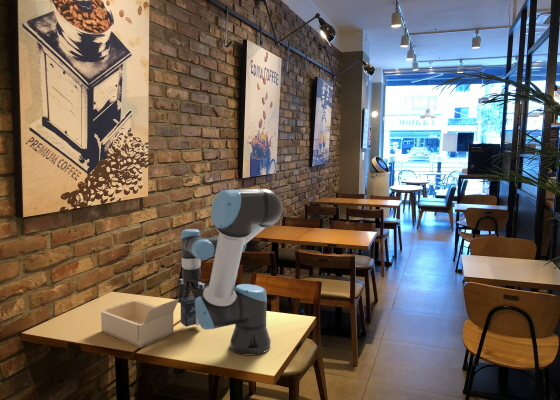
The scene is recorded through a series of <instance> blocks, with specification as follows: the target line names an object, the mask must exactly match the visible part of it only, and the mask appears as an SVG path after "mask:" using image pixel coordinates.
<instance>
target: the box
mask: <svg viewBox="0 0 560 400" xmlns="http://www.w3.org/2000/svg"><path fill="white" fill-rule="evenodd" d="M180 323H181V324H182V325H183V326H184V327H185V328H186V327H190V326H196V311H195V298H194V295H189V297H185V298H181V304H180Z"/></svg>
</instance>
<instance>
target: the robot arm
mask: <svg viewBox="0 0 560 400" xmlns="http://www.w3.org/2000/svg"><path fill="white" fill-rule="evenodd" d="M210 212H211V215H210V216H211V221H212V223H213V226H215V229H216V230H217V232H218V236H211V237H201V236H202V235H201V230H199V229H197V228H187V229H183V230H182V231H181V235H180V236H181V237H180V240H181V242H180V243H181V267H182V268H181V277H182V278H180V279H178V280H177V285H178V288H177V299H179V301H178V303H177V304H180V305H181V298H185V297H190V293H191V294H193V296H194V298H195V311H196V324H195V326H198V325H199V326H200V327H201V329H203V330H206V331H207V330H215V329H220V328H223V327H224V328H225V327H228V326H233V325H234V329H233V331H232V334H231V339H230V343H229V345H230V347H231V348H230V349H232V350H233V352H234V351H235V352H234V353H236V352H237V353H236V354H238V353H240V354H239V355H242V354H258V353H262V352H264V351H266V350H268V349H269V348H270V349H271V346H270V345H271V341H272V340H271V337H270V334H269V331H268V328H267V305H268V304H267V302H268V299H267V291H266V289H265V288H264V287H262V286H260V285H255V284H250V283H248V284H247V283H241V284H237V285H236V281H237V277H238V271H239V267H240V262H241V259H242V253H244V252H245V251H246V248H247V244H248V243H249V242H250V241H251V240H252V239H254V238H255V237H256V236H257V235H258V234H260V233H261V232H262V231H263V230H264V229H268V228H271V227H273V226H274V225H275V224H276V223H277V222H278V221H279V220H280V218H281V217H282V214H283V203H282V201H281V198H280V197H279V196H278V195H277V193H275V192H274V191H272V190H270V189H268V188H244V189H235V188H229V189H226V190H221V191H220V192H217V194H216V195H215V197H214V198H213V201H212V204H211V211H210ZM211 257H214V258H213V264H212V269H211V274H210V279H209V285H207V284H206V283H205V282H204V283H202V282H201V279H200V278H201V276H202V274H201V273H202V268H201V264H202V263H201V262H202V261H201V260H204V261H206V260H209V259H210V258H211ZM235 285H236V286H235ZM270 349H269V350H270ZM232 350H231V351H232ZM269 350H268V351H269ZM266 352H267V351H266ZM264 353H265V352H264ZM262 354H263V353H262ZM258 355H259V354H258Z"/></svg>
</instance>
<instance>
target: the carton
mask: <svg viewBox="0 0 560 400" xmlns="http://www.w3.org/2000/svg"><path fill="white" fill-rule="evenodd" d="M157 306H158V305H155V304H154V305H153V304H151V303H148V302H144V301H141V300H139V299H134V300H128V301H126V302H125V301H124V302H122V303H119V304H116V305H112V306H109V307H107V308H103V309H102V310H101V311H100V316H101V317H100V319H101V320H100V321H101V333H104V334H106V335H108V336H111V337H114V338H116V339H119V340H121V341H123V342H126V343H128V344H131V345H132V346H136V347H138V348H143V347H145V346H146V347H147V346H148V345H150V344H152V343H153V344H154V342H157V341H159V340H161V339H164V338H167V337H168V336H170V335H173V334H174V332H175V331H174V312H173V313H171V314H168V315H166V316H163V317H161V318H158V319H155V320H153V321H150V322H148V323H145V324H144V320H145V318H146V316H147V313H148V311H149V309H151V308H154V307H157Z"/></svg>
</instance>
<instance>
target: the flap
mask: <svg viewBox="0 0 560 400" xmlns="http://www.w3.org/2000/svg"><path fill="white" fill-rule="evenodd" d="M178 301H179V299H178V298H176V299H174V300H170V301H168V302H165V303H163V304H159V305H156V306H157V307H154V308H151V309H149V311H148V313H147V316H146V318H145V320H144V324H145V323H148V322H150V321H153V320H155V319H158V318H161V317H163V316H166V315H168V314H171V313H173V314H174V312H175V309H176V308H177V305H178V304H179V303H178Z"/></svg>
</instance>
